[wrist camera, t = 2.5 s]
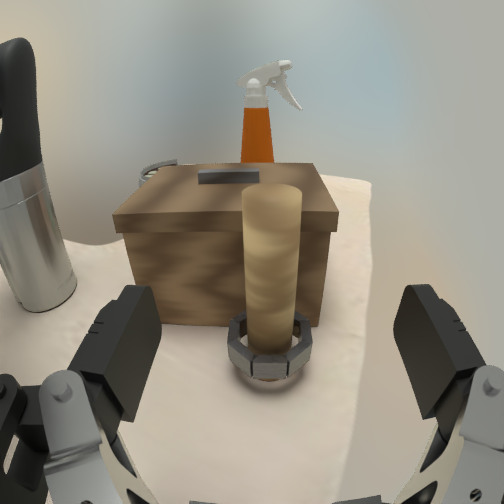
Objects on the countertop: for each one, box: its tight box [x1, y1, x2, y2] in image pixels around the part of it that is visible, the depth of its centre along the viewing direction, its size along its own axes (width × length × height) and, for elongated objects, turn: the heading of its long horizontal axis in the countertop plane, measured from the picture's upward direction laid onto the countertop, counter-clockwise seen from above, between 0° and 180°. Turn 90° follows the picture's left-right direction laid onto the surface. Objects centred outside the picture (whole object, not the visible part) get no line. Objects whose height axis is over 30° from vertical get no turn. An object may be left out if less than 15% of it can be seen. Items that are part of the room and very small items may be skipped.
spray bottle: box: [236, 60, 302, 163], centre depth 45 cm, size 7×11×26 cm, turn 63°
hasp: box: [227, 310, 312, 379], centre depth 24 cm, size 7×8×8 cm
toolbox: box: [112, 163, 339, 327], centre depth 33 cm, size 19×15×14 cm
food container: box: [139, 159, 178, 187], centre depth 50 cm, size 12×6×10 cm, turn 9°
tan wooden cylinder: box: [242, 183, 302, 381], centre depth 22 cm, size 4×4×16 cm
